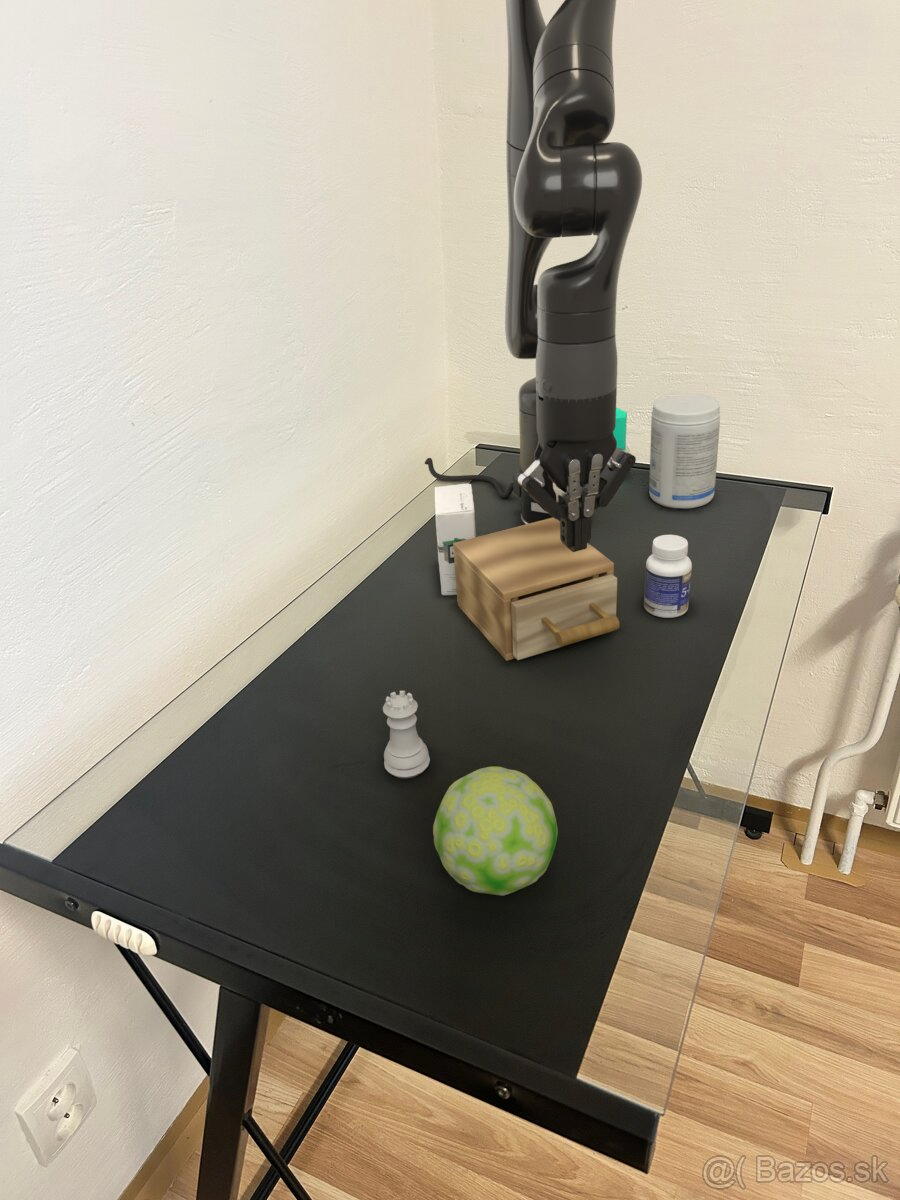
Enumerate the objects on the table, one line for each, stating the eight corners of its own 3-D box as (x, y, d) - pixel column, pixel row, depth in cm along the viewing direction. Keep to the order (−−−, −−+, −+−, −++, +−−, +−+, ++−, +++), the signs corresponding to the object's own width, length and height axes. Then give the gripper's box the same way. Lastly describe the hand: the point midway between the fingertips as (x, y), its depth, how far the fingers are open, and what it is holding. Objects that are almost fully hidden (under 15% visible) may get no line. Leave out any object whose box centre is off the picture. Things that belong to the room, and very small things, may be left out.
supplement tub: (723, 492, 133) (732, 397, 126) (699, 516, 127) (707, 418, 119) (663, 480, 138) (668, 389, 131) (636, 503, 132) (641, 408, 124)
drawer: (640, 652, 97) (643, 598, 94) (538, 684, 93) (537, 629, 90) (561, 582, 111) (561, 533, 108) (470, 608, 107) (467, 558, 104)
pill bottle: (688, 620, 104) (694, 553, 99) (643, 618, 105) (646, 552, 100) (687, 597, 108) (693, 532, 103) (644, 595, 109) (647, 531, 105)
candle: (601, 486, 138) (603, 412, 132) (579, 474, 143) (580, 402, 137) (632, 477, 140) (635, 404, 134) (609, 465, 145) (611, 394, 139)
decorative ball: (569, 915, 69) (569, 821, 64) (442, 929, 68) (432, 836, 63) (547, 823, 77) (545, 735, 72) (434, 835, 77) (424, 747, 72)
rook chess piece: (376, 775, 84) (366, 708, 80) (396, 745, 88) (387, 680, 84) (419, 785, 83) (411, 717, 79) (437, 754, 86) (431, 689, 82)
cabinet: (612, 628, 103) (614, 562, 99) (506, 661, 99) (503, 593, 94) (554, 578, 114) (554, 516, 110) (457, 605, 110) (452, 542, 106)
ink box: (439, 564, 120) (432, 484, 114) (475, 561, 120) (471, 481, 113) (441, 596, 112) (434, 512, 106) (480, 593, 112) (475, 509, 106)
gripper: (615, 362, 88) (610, 520, 96) (495, 386, 83) (502, 548, 92) (659, 380, 81) (650, 547, 90) (532, 407, 77) (535, 578, 86)
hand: (575, 547), depth 91 cm, fingers closed
